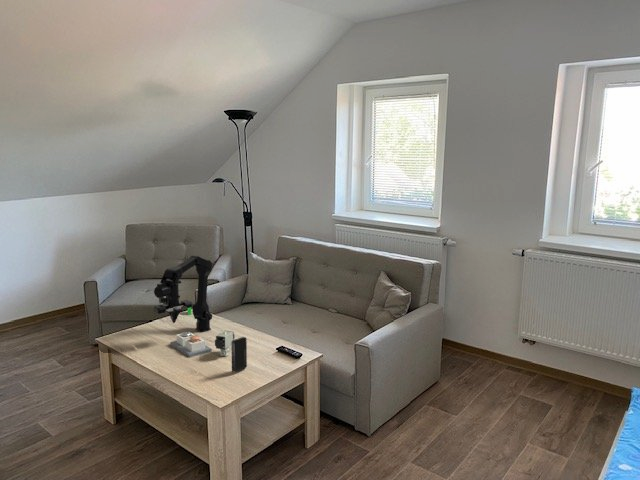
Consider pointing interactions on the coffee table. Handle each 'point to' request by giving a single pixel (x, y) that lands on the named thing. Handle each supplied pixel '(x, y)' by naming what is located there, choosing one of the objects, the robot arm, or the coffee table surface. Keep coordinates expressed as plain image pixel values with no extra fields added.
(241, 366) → the phone
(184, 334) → the plug metal
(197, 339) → the plug terracotta
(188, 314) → the mechanical part
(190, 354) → the board
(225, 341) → the pneumatic valve
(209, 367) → the coffee table surface
